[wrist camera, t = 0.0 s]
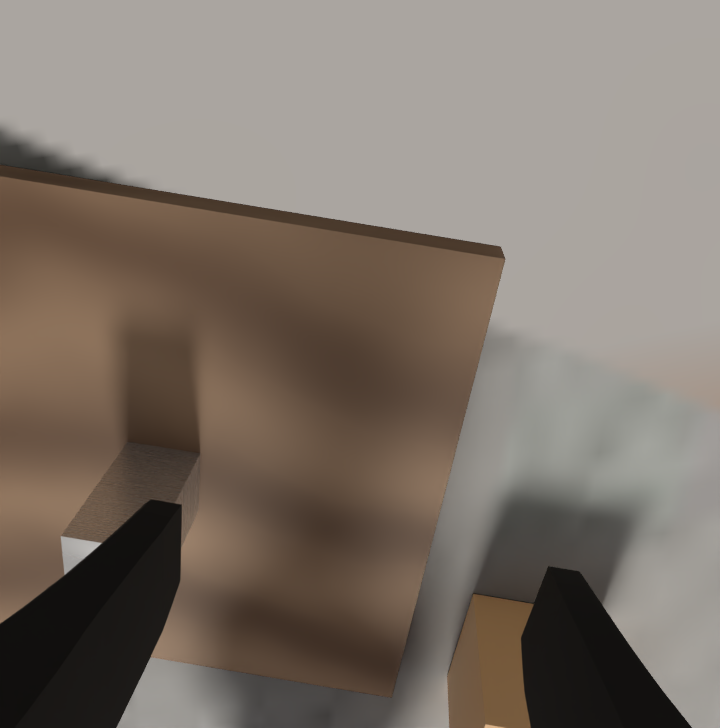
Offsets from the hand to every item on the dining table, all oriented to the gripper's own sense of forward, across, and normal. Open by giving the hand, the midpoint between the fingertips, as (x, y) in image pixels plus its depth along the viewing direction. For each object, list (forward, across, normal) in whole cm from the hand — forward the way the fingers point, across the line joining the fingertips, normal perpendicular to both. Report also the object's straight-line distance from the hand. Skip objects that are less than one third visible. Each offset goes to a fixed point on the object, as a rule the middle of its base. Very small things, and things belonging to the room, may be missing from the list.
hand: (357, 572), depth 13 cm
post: (+9, +7, +6) cm, 13 cm away
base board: (+10, +7, +6) cm, 14 cm away
